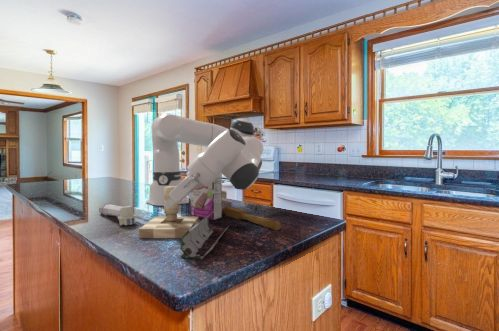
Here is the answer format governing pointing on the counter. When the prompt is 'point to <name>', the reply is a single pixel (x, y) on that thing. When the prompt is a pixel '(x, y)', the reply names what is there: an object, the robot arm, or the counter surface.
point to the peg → (173, 210)
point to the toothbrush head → (119, 213)
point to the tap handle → (250, 218)
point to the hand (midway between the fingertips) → (169, 204)
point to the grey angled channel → (197, 239)
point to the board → (167, 227)
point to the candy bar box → (207, 200)
